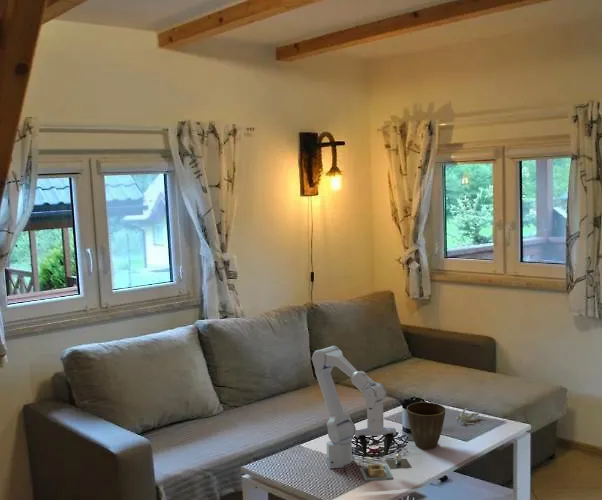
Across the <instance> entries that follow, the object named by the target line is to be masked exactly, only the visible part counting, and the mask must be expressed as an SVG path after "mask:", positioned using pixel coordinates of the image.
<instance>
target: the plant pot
mask: <svg viewBox="0 0 602 500" xmlns="http://www.w3.org/2000/svg"><path fill="white" fill-rule="evenodd" d="M406 412H407V413H406V414H407V419H408V423H409V428H410V433H411V435H412V438H413V442H414V445H415V447H417V448H418V449H421V450H433V449H435V448H436V447H437V445H438V443H439V441H440V438H441V435H442V431H443V426H444V421H445V416H446V407H444V406H443V405H441V404H439V403H435V402H428V401H427V402H426V401H422V402H413V403H410V404H408V405H407V406H406Z"/></svg>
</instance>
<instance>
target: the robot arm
mask: <svg viewBox="0 0 602 500" xmlns="http://www.w3.org/2000/svg"><path fill="white" fill-rule="evenodd" d="M311 361H312V365H313V367H314V374H315V376H316V379H317V382H318V385H319V387H320V391H321V394H322V397H323V399H324V400H323V401H324V404H325V406H326V410H327V412H328V415H329V420H328V421H327V422H326V428H327V435H328V436H327V437H328V438H329V441H326V462H327V465H328V468H329V469H340V468H345V467H346V466H348V465H350V464H351V463H353V453H352V452H353V445H352V443H353V440H354V436H355V438H358V439H359V441H360V444H361V447H362V450H363V451H362V452H363V456H364V457H367V456H368V452H367V450H368V449H367V443H368V440H367V437H373V436H374V437H380V436H384V437H383V439H384V455H385V456H388V454H389V451H390V448H391V445H392V443H393V441H394V438H395V437H394V436H396V435H397V429H396V427H384V425H385V424H384V399H385V398H386V397H387V394H388V391H387V387H385V386H384V384H383V383H381V382H376V381H374V380H373V379H372V378H371V377H369V376H368V375H367V373H366V371H362V370H359V371H358V370H357V369H356V368H355V367H354V366H353V365H352V363H350V362H349V360H348V359H346V357H345V356H344V355H343V351H342V350H341V349H340V348H339V347H338V346H336V345H331V346H328V347H325V348H322V349H317V350H314V352H313V354H312V356H311ZM334 367H336V368H338V369H339V370H341V372H343V373H344V374H345V375H347V376H348V377H349V378H350V379H351V381H350V382H351V383H352V385H354V387H356V388H357V389H358V390H359V391H360V393H362V394H363V399H364V400H365V406H366V407H367V408H366V411H367V412H366V413H367V415H366V416H367V417H366V418H367V419H366V420H367V421H366V422H367V423H366V424H367V425H366V426H367V427H366V428H362V429H357V428H356V425H355V423H354V422H353V421H352V418H351V416H350V415H349V414H347V413H345V412H344V409H343V406H342V403H341V400H340V398H339V395H338V392H337V388H336V385H335V382H334V379H333V377H332V373H331V372H332V370H333V368H334Z"/></svg>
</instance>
